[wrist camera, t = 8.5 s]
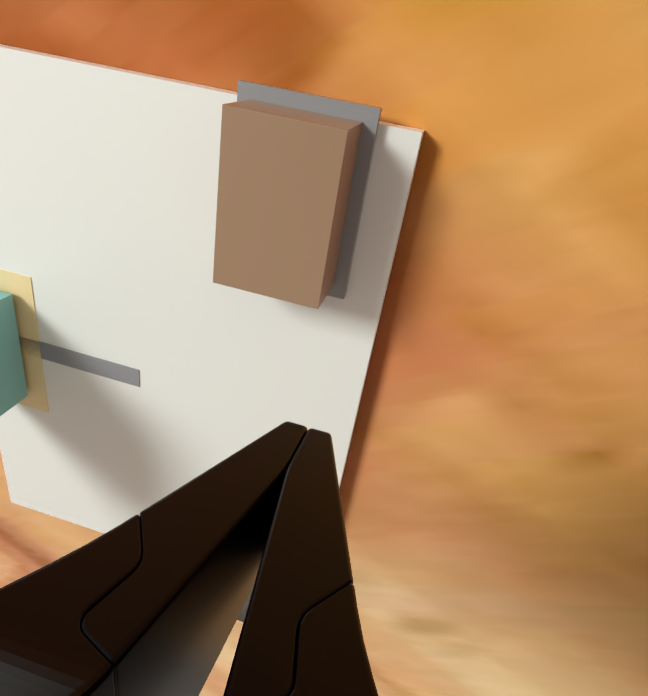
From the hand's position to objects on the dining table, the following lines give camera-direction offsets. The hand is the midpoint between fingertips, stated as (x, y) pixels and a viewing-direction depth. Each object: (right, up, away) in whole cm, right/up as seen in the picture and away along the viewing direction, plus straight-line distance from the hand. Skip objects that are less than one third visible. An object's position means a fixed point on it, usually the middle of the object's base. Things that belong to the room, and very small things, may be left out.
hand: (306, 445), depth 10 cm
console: (-8, +1, +17) cm, 19 cm away
